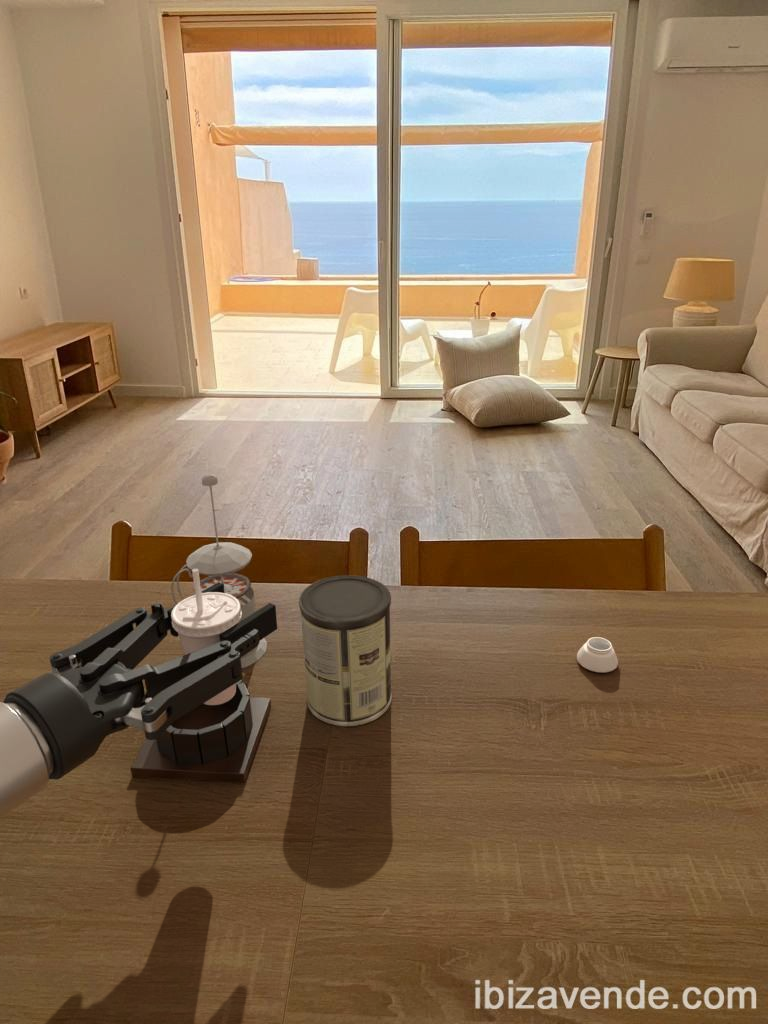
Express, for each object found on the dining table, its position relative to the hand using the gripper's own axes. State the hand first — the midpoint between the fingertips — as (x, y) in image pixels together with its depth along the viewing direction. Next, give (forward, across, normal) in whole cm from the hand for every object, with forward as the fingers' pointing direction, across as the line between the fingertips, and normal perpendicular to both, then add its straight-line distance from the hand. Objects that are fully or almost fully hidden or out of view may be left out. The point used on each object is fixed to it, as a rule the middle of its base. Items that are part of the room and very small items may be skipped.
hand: (246, 605), depth 69 cm
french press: (+10, -17, -18) cm, 27 cm away
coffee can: (+12, +3, -18) cm, 22 cm away
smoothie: (-5, 0, -8) cm, 9 cm away
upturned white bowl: (+35, +26, -18) cm, 47 cm away
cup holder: (-3, -6, -18) cm, 19 cm away
